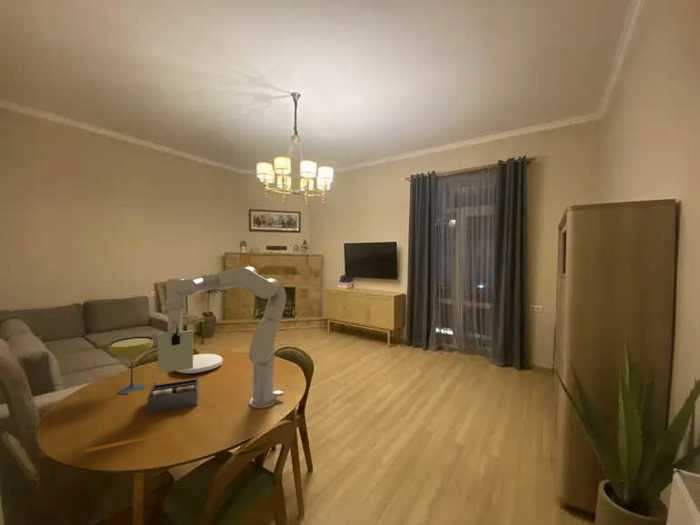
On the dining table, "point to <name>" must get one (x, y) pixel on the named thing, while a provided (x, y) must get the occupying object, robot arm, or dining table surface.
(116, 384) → the dining table surface
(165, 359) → the sage sheet
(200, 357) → the plate
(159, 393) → the brown offcut
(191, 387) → the walnut offcut
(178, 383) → the rack
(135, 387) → the cocktail glass
